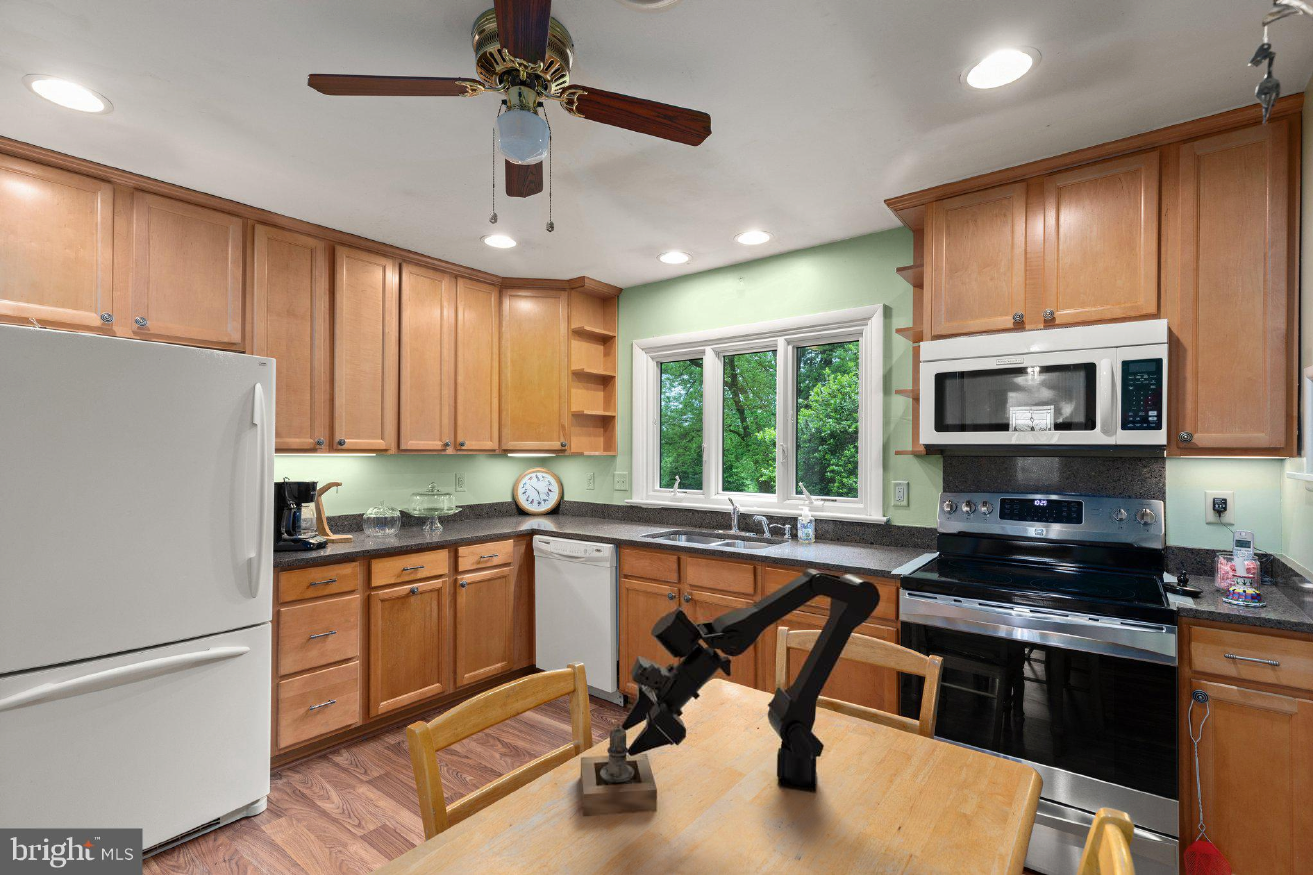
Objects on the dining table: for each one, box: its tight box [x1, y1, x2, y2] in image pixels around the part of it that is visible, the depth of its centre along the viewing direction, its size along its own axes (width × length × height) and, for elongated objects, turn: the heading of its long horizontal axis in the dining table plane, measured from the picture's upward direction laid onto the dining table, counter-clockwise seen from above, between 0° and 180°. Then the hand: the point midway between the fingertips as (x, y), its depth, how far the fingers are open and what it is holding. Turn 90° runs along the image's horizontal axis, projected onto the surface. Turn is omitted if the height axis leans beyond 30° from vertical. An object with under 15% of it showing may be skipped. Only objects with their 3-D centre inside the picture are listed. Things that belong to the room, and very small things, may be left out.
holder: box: [580, 753, 658, 817], centre depth 108 cm, size 12×12×4 cm
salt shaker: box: [600, 723, 634, 786], centre depth 109 cm, size 6×6×12 cm
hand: (625, 740), depth 109 cm, fingers open, 9 cm apart
